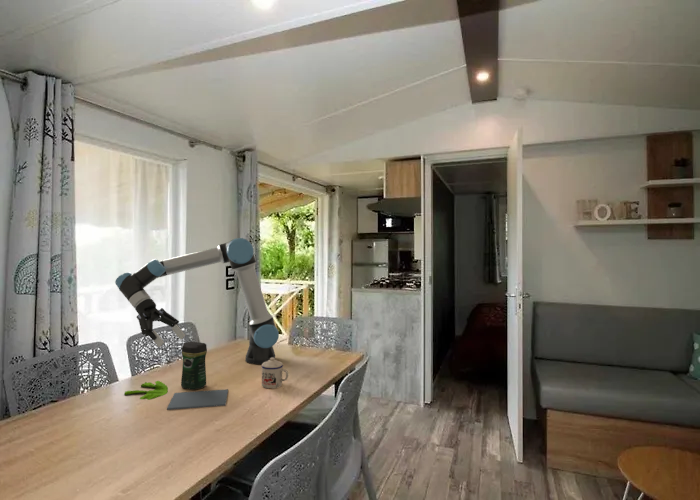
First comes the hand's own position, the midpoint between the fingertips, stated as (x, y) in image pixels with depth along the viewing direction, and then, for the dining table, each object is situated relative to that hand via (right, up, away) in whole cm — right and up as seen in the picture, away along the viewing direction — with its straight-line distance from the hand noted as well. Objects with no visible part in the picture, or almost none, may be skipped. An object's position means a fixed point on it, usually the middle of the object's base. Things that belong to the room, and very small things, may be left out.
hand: (172, 341), depth 163 cm
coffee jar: (+10, -19, -2) cm, 21 cm away
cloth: (-8, -19, -7) cm, 22 cm away
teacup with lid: (+43, -19, +1) cm, 47 cm away
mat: (+17, -19, -16) cm, 30 cm away
